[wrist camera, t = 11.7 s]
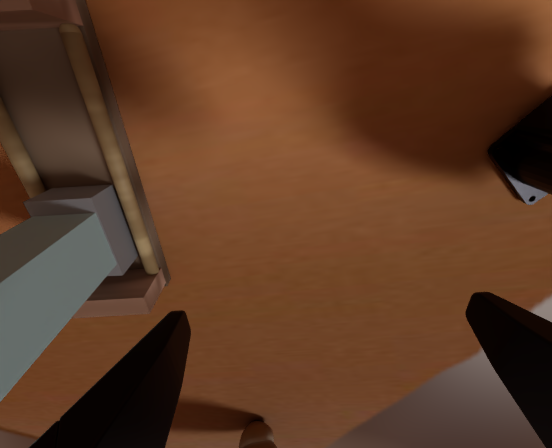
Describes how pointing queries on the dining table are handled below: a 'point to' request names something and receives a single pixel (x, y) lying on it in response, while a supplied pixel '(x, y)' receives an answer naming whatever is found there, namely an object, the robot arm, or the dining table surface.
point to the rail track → (74, 134)
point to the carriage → (56, 268)
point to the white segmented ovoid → (257, 436)
